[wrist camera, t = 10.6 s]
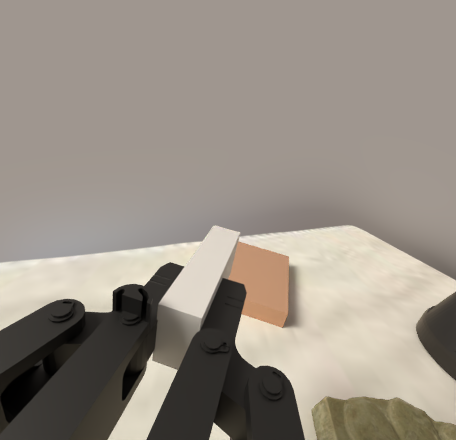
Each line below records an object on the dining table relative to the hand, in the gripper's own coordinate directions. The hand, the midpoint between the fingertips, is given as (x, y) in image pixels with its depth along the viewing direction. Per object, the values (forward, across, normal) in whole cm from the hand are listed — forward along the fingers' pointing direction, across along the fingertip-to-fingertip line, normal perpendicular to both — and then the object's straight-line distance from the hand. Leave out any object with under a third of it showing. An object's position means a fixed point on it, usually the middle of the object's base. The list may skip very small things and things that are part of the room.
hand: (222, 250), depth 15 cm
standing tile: (+13, 0, -15) cm, 20 cm away
